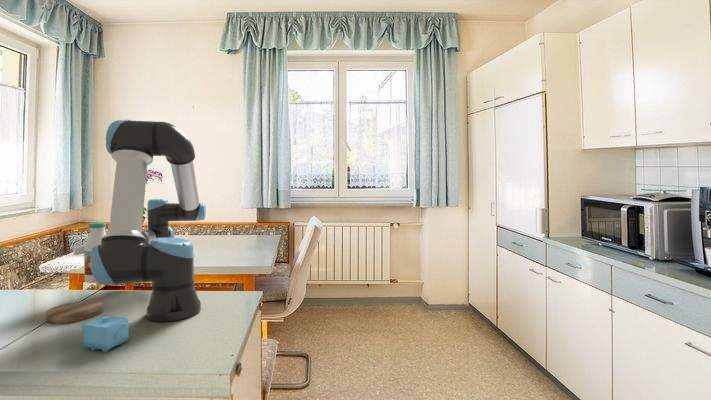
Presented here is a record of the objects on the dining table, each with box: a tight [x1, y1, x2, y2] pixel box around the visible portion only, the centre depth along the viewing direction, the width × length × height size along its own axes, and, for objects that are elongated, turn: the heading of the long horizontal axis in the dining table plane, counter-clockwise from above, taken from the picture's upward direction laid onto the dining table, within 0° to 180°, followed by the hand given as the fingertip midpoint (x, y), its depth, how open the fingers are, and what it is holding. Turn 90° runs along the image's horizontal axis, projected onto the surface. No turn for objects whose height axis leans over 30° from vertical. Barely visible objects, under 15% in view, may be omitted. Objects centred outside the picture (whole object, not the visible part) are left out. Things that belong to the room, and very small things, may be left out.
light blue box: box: [82, 315, 130, 353], centre depth 88 cm, size 12×6×8 cm, turn 76°
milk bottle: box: [83, 221, 107, 284], centre depth 121 cm, size 8×8×20 cm
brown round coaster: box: [44, 300, 104, 325], centre depth 110 cm, size 14×14×2 cm
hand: (84, 251), depth 117 cm, fingers closed on milk bottle, 7 cm apart
